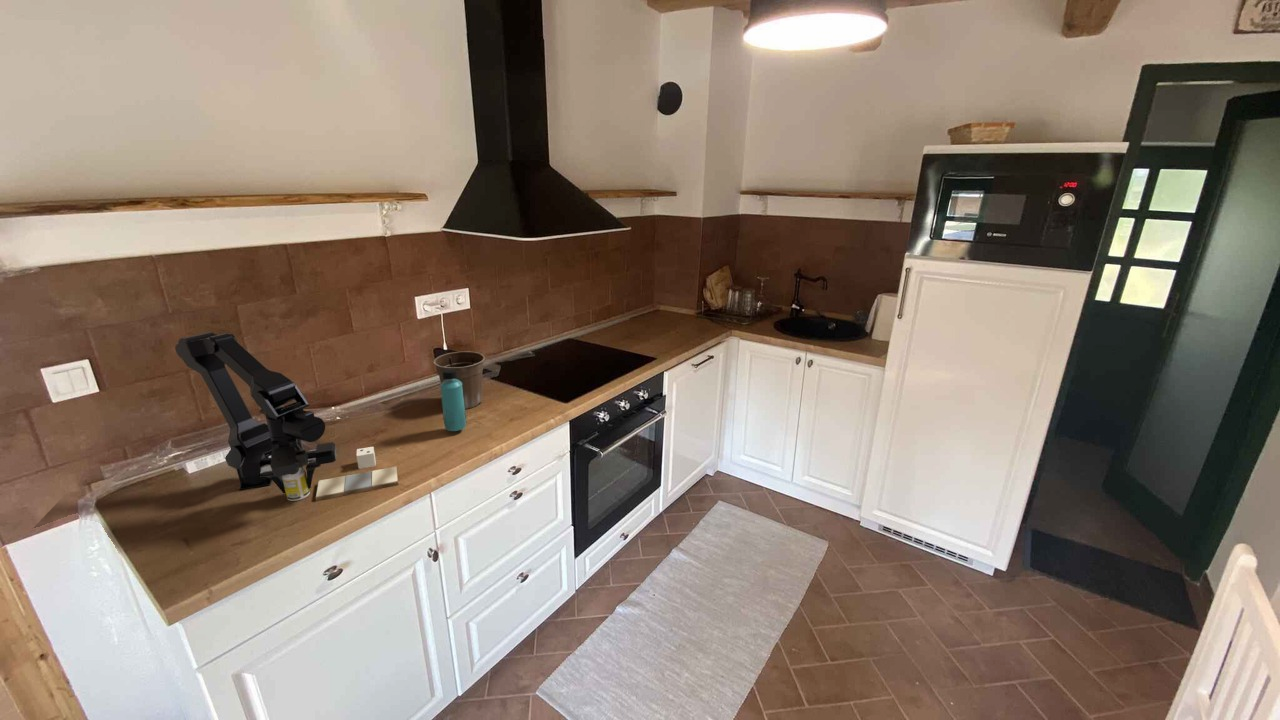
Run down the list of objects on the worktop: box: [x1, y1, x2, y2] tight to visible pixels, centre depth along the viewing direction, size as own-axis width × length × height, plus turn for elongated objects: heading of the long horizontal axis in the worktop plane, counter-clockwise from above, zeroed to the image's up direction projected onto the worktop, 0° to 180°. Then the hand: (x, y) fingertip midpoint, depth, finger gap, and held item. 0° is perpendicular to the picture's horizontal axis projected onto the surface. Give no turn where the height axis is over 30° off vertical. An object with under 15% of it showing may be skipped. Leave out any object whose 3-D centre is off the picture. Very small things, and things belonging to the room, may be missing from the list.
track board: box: [315, 466, 399, 502], centre depth 132 cm, size 18×8×1 cm, turn 116°
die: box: [356, 446, 377, 470], centre depth 140 cm, size 4×4×4 cm
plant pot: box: [433, 350, 486, 410], centre depth 177 cm, size 16×16×16 cm
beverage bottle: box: [439, 369, 467, 432], centre depth 157 cm, size 6×7×20 cm
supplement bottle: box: [282, 466, 311, 502], centre depth 125 cm, size 5×5×8 cm
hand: (297, 490), depth 126 cm, fingers closed on supplement bottle, 5 cm apart
